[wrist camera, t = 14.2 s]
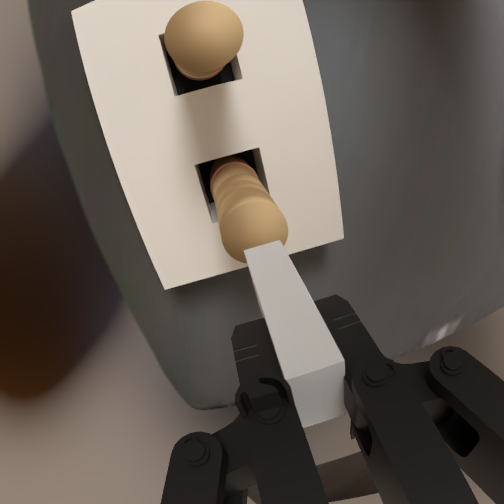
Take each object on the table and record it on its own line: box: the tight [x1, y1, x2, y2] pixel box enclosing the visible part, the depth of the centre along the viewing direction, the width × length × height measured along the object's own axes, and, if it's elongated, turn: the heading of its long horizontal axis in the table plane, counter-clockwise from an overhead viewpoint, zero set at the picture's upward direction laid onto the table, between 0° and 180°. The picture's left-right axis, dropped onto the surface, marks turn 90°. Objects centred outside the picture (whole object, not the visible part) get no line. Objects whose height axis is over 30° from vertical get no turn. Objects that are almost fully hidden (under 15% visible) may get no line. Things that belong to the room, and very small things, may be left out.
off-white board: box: [71, 0, 344, 290], centre depth 23 cm, size 16×24×4 cm, turn 13°
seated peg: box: [164, 1, 244, 80], centre depth 17 cm, size 4×4×13 cm
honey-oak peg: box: [210, 154, 288, 264], centre depth 22 cm, size 4×4×13 cm
